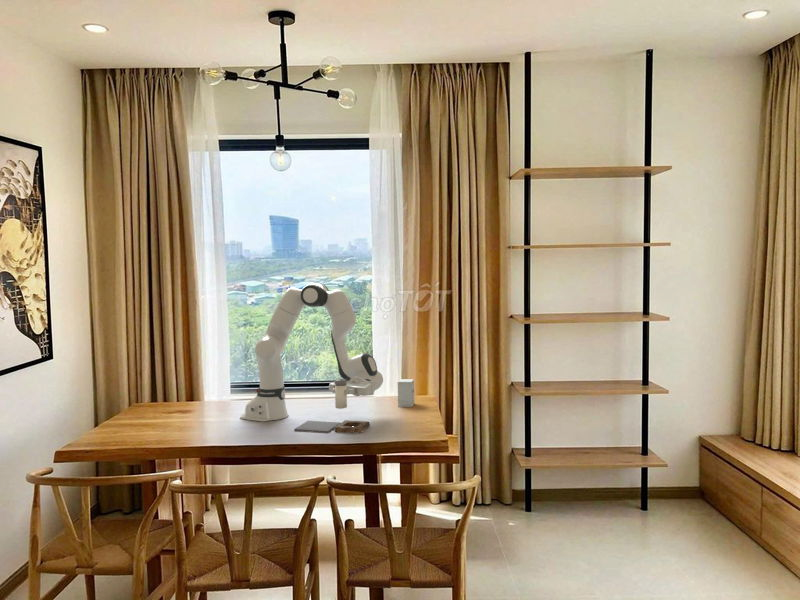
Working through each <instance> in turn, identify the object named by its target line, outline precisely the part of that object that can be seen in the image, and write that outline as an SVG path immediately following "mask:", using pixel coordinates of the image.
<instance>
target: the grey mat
mask: <svg viewBox="0 0 800 600" xmlns="http://www.w3.org/2000/svg"><path fill="white" fill-rule="evenodd" d="M340 423H341V422H339V421H338V422H336V421H319V420H307V421H304V423H302V424H299V426H296V428H294V429H293V431H294V430H297V431H296V432H306V431H313V432H312V433H322V432H326V433H327V434H328V432H329V433H330V432H331V430H332V431H333V430H335V429H334V428H335V427H336V426H337V425H339V424H340ZM326 433H325V434H326Z"/></svg>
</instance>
